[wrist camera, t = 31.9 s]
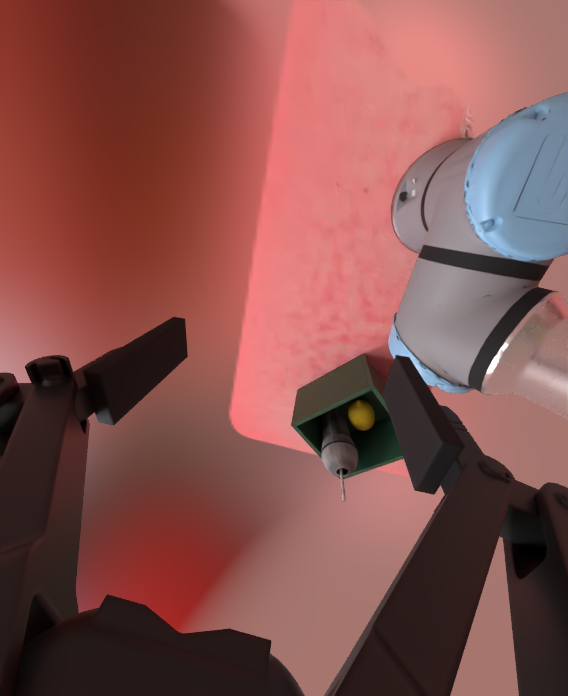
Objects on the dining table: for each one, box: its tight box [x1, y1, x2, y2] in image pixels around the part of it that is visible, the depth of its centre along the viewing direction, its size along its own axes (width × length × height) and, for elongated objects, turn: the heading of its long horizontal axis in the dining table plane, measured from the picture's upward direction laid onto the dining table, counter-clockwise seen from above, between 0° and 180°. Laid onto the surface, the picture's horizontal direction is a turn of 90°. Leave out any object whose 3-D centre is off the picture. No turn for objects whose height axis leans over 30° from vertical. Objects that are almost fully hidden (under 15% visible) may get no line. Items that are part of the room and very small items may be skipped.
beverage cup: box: [321, 407, 358, 501], centre depth 50 cm, size 7×7×20 cm
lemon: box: [348, 400, 375, 431], centre depth 55 cm, size 6×6×8 cm
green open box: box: [291, 353, 404, 480], centre depth 52 cm, size 18×18×12 cm
